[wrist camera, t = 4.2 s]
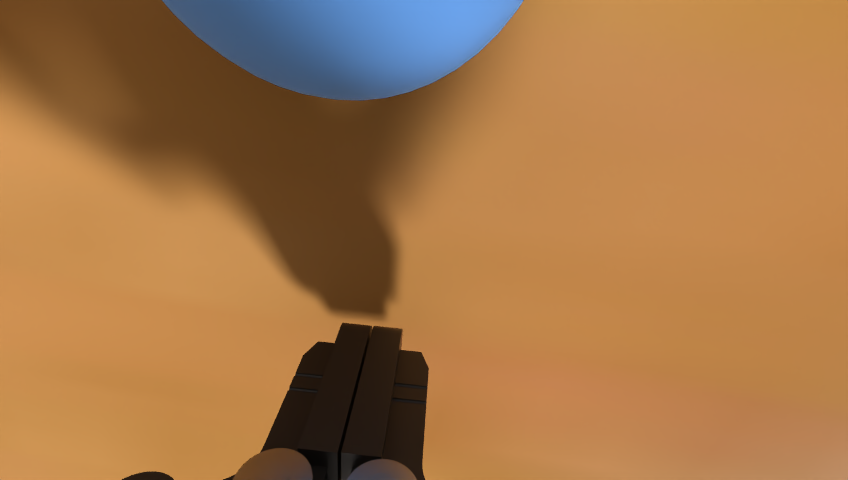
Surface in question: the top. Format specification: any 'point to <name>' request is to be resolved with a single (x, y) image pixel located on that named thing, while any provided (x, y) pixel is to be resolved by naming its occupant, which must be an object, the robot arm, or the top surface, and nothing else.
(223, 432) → the top surface
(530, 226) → the top surface
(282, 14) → the ball
